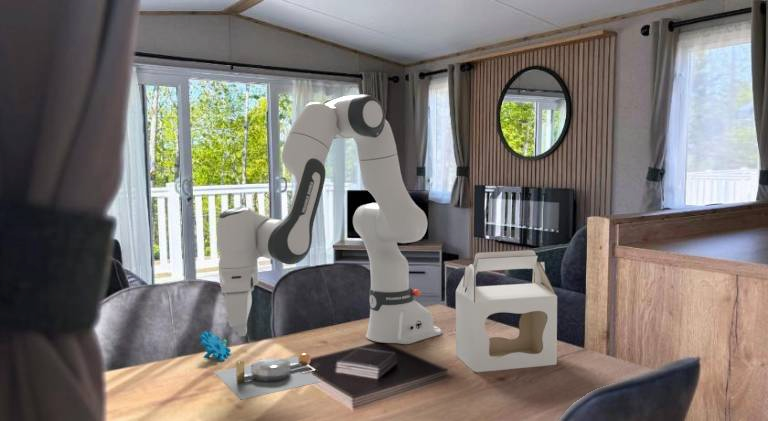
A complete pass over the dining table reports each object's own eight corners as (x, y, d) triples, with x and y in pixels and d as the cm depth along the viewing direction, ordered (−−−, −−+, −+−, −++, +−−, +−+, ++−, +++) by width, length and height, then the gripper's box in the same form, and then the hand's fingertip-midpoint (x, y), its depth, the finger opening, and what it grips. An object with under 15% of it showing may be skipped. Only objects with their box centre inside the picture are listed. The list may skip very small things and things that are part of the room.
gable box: (473, 373, 140) (473, 257, 138) (454, 356, 153) (454, 249, 151) (557, 365, 145) (558, 253, 143) (532, 349, 158) (533, 246, 156)
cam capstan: (229, 377, 136) (228, 357, 135) (301, 360, 147) (300, 342, 147) (246, 389, 128) (245, 368, 128) (320, 370, 139) (320, 351, 139)
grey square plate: (295, 360, 151) (295, 355, 151) (330, 383, 134) (330, 378, 134) (214, 376, 140) (214, 371, 140) (240, 404, 123) (240, 398, 123)
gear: (222, 362, 145) (197, 332, 147) (206, 378, 146) (181, 348, 148) (241, 354, 156) (217, 326, 158) (225, 369, 157) (202, 341, 158)
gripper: (229, 269, 147) (233, 323, 148) (219, 287, 126) (224, 349, 128) (255, 267, 148) (258, 321, 149) (249, 285, 127) (253, 347, 129)
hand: (242, 334), depth 138 cm, fingers closed
